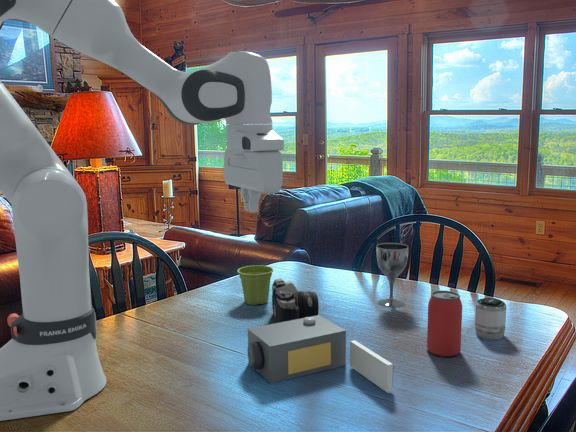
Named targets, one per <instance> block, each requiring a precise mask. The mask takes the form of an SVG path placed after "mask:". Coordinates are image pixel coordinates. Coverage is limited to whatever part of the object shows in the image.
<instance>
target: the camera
mask: <svg viewBox="0 0 576 432" xmlns="http://www.w3.org/2000/svg"><path fill="white" fill-rule="evenodd" d="M271 289H272V291H271V292H272V295H271V301H272V302H271V303H272V305H271V306H272V307H271V308H272V314H273V316H274V318H275V321H276V323H280V322H285V321H291V320H296V319H301V318H305V317H311V316H317V315H319V308H320V307H319V298H318V294H317V293H316V292H315V291H306V290H305V291H304V290H299V291H298V289H297V286H295V284H294V282H292V281H291V280H289V281H285V280H283V279H282V278H281V277H280V278H279V277H278V278H275V279H274V280H273V283H272V286H271Z"/></svg>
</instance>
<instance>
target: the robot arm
mask: <svg viewBox="0 0 576 432" xmlns="http://www.w3.org/2000/svg"><path fill="white" fill-rule="evenodd" d="M125 16H126V15H125V13H124V10H123V9H122V7H121V6H120V5H119V4H118V3H117V2H116V1H115V0H0V31H1V30H2V28H3V26H4V23H5V21H6V20H13V19H14V20H15V19H16V20H21V21H24V22H27V23H29V24H30V25H33V26H35V27H36V28H38V29H40V30H41V31H42V32H44V33H46V34H47V35H49V36H50V37H52V38H54V39H55V40H57V41H58V42H60V43H62V44H63V45H65V46H66V47H69V48H71V49H73V50H74V51H76V52H78V53H81V54H82V55H85V56H88V57H90V58H91V59H94V60H96V61H99V62H101V63H103V64H105V65H108V66H110V67H112V68H113V69H115V70H117V71H118V72H120V73H122V74H123V75H125V76H126V77H128V78H129V79H130V80H132V81H134V82H136V83H137V84H138V85H139V86H141V87H143V88H144V89H145V90H147V91H148V92H150V93H152V94H153V95H154V96H155V97H156V98H157V99H158V100H159V101H160V102H161V104H162V106H163V107H164V108H165V109H166V111H167V112H168V115H170V116H171V117H172V118H173V119H174V120H175V121H177V122H178V123H180V124H183V125H186V126H195V125H196V126H197V125H200V124H208V123H209V124H210V123H214V122H217V121H220V120H222V119H224V120H225V129H226V131H225V134H226V135H225V136H226V137H225V138H226V139H225V141H226V149H225V151H224V155H223V179H224V183H225V184H226V185H230V186H233V187H238V188H240V194H241V197H242V202H243V209H244V211H246V212H249V213H253V214H254V213H258V212H259V203H260V200H261V196H262V194H272V193H273V194H274V193H279V192H280V191H281V189H282V186H283V178H284V177H283V176H284V170H283V169H284V167H283V165H284V161H283V159H284V158H283V154H282V153H281V151H283V150H284V149H285V140H284V139H283V138H282V137H281V136H280V135H279V134H278V133H276V132H275V130H273V119H272V116H271V107H272V102H273V90H272V87H273V86H272V78H271V77H272V76H271V70H270V66H269V63H268V61H267V59H266V58H265V57H263V56H262V55H260V54H258V53H254V52H251V51H246V50H243V51H241V50H233V51H230V52H228V53H227V54H226V55H225V56H224V57H222V58H221V59H219V60H217V61H215V62H213V63H211V64H209V65H206V66H204V67H201V68H199V69H198V68H197V69H195V70H192V71H190V72H187V71H184V70H182V71H181V70H179V69H176V68H174V67H173V66H172V65H170V64H169V63H167V62H165V60H163V59H161V57H159V56H157V54H155V53H154V52H152V51H151V50H149V49H148V48H146V47H145V46H144V45H142V44H141V43H140V41H138V39H136V38H135V37H134V34H133V33H132V31H131V29H130V27H129V25H128V23H127V20H126V17H125ZM0 193H1V194H2V196H4V198H5V199H6V200H7V201H8V202H9V204H11V213H12V222H13V230H14V239H15V246H16V247H15V249H16V257H17V264H18V266H17V267H18V271H19V273H18V274H19V282H20V293H21V294H20V295H21V304H22V305H21V306H22V314H21V315H18V314H17V313H15V312H14V313H10V314H9V315H8V317H7V320H6V321H7V325H8V326H9V327H10V333H11V339H10V340H9V341H8V342H7V343H5V344H4V345H3V346H2V347H0V422H1V421H2V422H3V421H9V420H17V419H23V418H30V417H31V418H32V417H39V416H44V415H50V414H59V413H65V412H71V411H75V410H76V409H77V408H79V407H80V406H81V405H82V404H83V403H84V402H85V401H87V400H88V399H90V398H92V397H93V396H96V395H97V394H98V393H100V392H101V391H102V390H103V389H104V387H105V386H106V385H107V378H106V374H105V372H104V370H103V366H102V364H101V360H100V357H99V352H98V348H97V343H96V339H97V333H98V331H97V317H96V316H97V315H96V312H95V311H96V310H95V308H94V306H93V305H92V293H91V281H90V280H91V279H90V265H89V264H90V263H89V260H90V259H89V257H90V256H89V254H90V253H89V250H90V249H89V219H88V218H89V217H88V202H87V197H86V194H85V192H84V190H83V189H82V187H81V186H80V184H79V183H78V182H77V180H76V178H75V177H74V176H73V175H72V173H71V171H70V170H68V168H67V167H66V165H65V164H64V163H63V161H62V160H61V159H60V158H59V156H58V155H57V154H56V153H55V151H54V150H53V148H52V147H51V146H50V144H49V143H48V141H47V140H46V139H45V138H44V136H43V135H42V133H40V131H39V130H38V128H37V126H36V125H35V124H34V123H33V122H32V120H31V119H30V118H29V116H28V115H27V114H26V113H25V111H24V110H23V108H22V107H21V106H20V104H19V103H18V102H17V101H16V99H15V98H14V97H13V95H12V94H11V93H10V91H9V89H8V88H7V87H6V86H5V84H4V83H3V82H2V81H1V80H0Z"/></svg>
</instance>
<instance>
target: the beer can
mask: <svg viewBox="0 0 576 432" xmlns="http://www.w3.org/2000/svg"><path fill="white" fill-rule="evenodd" d="M430 295H431V296H430V298H429V300H428V304H427V331H426V334H427V336H426V350H428V352H430V353H431V354H432V355H435V356H438V357H442V358H444V357H447V358H448V357H449V358H450V357H455V356H457V355H458V354H460V352H461V349H462V348H461V347H462V344H461V343H462V325H463V324H462V322H463V321H462V320H463V303H462V300H461V295H460V294H459V293H458V292H455V291H450V290H436V291H433V292H431V294H430Z"/></svg>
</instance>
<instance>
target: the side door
mask: <svg viewBox="0 0 576 432" xmlns="http://www.w3.org/2000/svg"><path fill="white" fill-rule="evenodd" d="M349 367H350V368H352V369H353V370H355V371H356V372H357V373H359V374H361V376H363V377H365V378H366V379H367V380H369V381H370V382H371V383H373V384H374V385H376V386H377V387H378V388H380V389H381V390H382V391H384V392H386V393H387V394H388V393H391V392H393V387H394V363H392V362H391V361H389V360H387V359H385V358H384V357H382V356H381V355H380V354H378V353H376V352H374V351H373V350H371V349H370V348H368V347H366V346H365V345H363V344H362V343H360V342H359V341H357V340H354V339H353V340H350V341H349Z"/></svg>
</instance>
